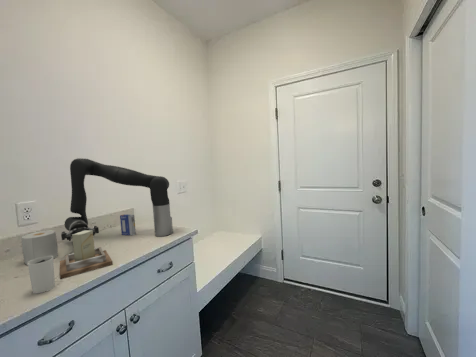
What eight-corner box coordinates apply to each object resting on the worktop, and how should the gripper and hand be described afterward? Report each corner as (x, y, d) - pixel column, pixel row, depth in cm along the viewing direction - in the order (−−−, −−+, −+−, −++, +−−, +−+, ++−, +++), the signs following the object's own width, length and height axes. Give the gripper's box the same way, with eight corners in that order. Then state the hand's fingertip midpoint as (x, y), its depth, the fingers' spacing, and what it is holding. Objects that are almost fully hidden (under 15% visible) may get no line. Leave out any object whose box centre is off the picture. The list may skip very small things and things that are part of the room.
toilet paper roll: (44, 253, 112) (42, 230, 111) (65, 254, 110) (62, 230, 109) (16, 264, 100) (13, 238, 100) (38, 265, 98) (35, 238, 97)
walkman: (121, 235, 136) (119, 215, 136) (125, 233, 139) (123, 213, 138) (132, 235, 134) (130, 215, 133) (136, 233, 137) (134, 214, 136)
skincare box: (83, 264, 93) (80, 234, 92) (74, 264, 93) (71, 234, 93) (96, 257, 99) (93, 230, 98) (87, 257, 100) (84, 229, 99)
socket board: (105, 253, 108) (105, 244, 108) (112, 264, 95) (111, 255, 94) (60, 264, 98) (59, 255, 97) (60, 279, 84) (59, 268, 84)
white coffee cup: (29, 289, 78) (26, 260, 77) (54, 281, 83) (51, 254, 82) (32, 296, 73) (28, 266, 73) (58, 287, 78) (55, 258, 77)
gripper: (60, 224, 110) (60, 231, 98) (94, 218, 119) (99, 224, 106) (61, 239, 111) (62, 248, 98) (96, 233, 120) (101, 240, 107)
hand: (81, 235), depth 102 cm, fingers open, 8 cm apart
